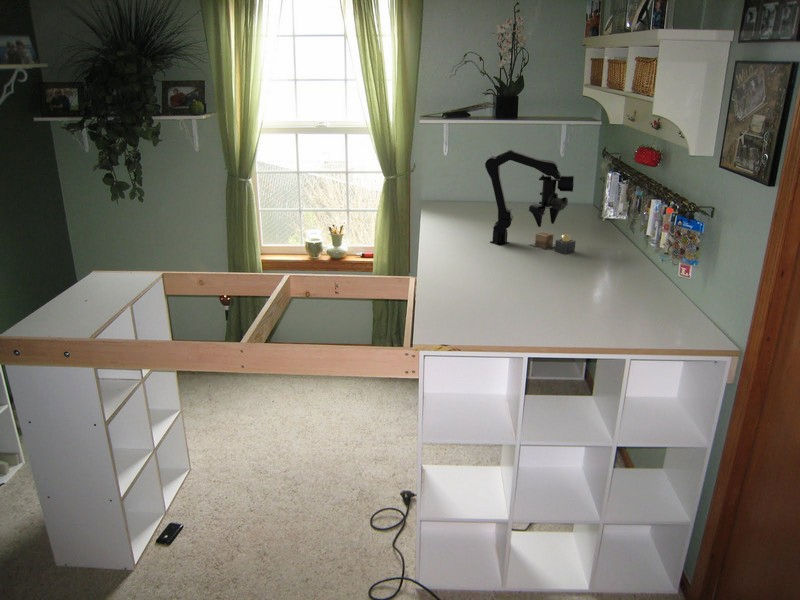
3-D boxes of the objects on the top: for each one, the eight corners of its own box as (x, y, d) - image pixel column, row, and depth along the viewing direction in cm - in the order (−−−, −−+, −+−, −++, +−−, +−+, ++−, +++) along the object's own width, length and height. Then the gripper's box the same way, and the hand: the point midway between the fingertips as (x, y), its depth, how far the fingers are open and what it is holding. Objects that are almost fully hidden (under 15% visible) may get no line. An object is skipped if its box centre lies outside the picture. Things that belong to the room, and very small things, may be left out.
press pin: (565, 247, 281) (567, 236, 279) (559, 245, 284) (560, 234, 282) (571, 246, 283) (572, 235, 281) (564, 244, 286) (565, 233, 284)
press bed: (545, 249, 287) (545, 249, 287) (529, 245, 293) (529, 244, 293) (558, 246, 292) (558, 245, 292) (542, 242, 299) (542, 241, 298)
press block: (565, 254, 280) (567, 243, 279) (554, 251, 285) (555, 240, 283) (574, 251, 284) (575, 240, 282) (563, 248, 288) (564, 238, 286)
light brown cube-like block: (544, 247, 289) (545, 236, 287) (535, 244, 293) (535, 234, 291) (552, 245, 292) (553, 234, 290) (542, 242, 296) (543, 232, 294)
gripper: (549, 196, 272) (546, 232, 278) (577, 190, 283) (573, 225, 289) (529, 192, 280) (526, 227, 286) (556, 186, 291) (553, 220, 297)
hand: (545, 225), depth 289 cm, fingers open, 9 cm apart
